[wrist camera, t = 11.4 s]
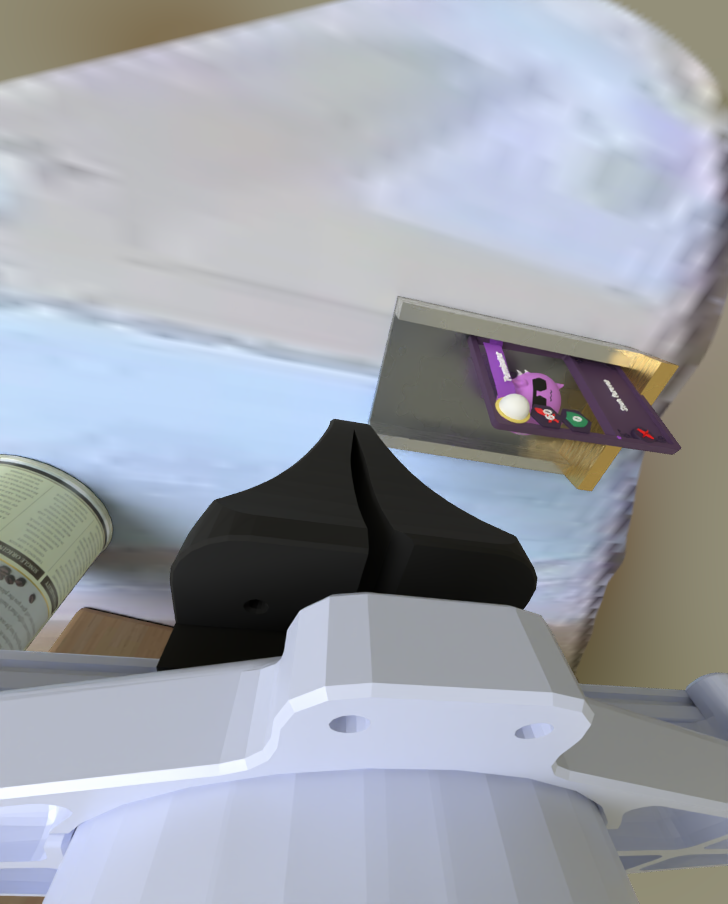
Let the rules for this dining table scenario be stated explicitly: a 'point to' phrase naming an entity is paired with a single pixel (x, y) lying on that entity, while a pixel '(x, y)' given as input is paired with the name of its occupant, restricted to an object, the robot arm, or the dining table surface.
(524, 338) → the drawer
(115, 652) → the wooden block
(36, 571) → the coffee can
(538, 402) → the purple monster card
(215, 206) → the dining table surface
